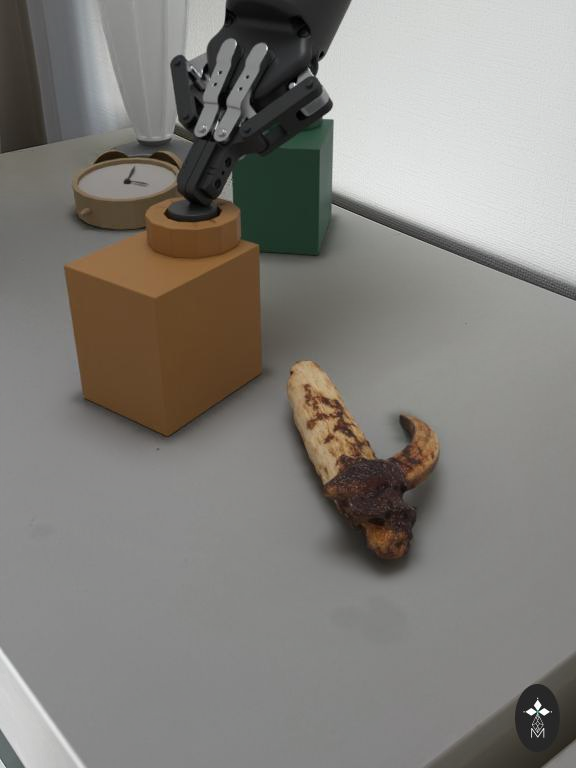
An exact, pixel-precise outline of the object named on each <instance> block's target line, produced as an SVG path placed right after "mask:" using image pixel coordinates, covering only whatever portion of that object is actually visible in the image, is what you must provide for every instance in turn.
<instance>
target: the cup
mask: <svg viewBox="0 0 576 768" xmlns="http://www.w3.org/2000/svg"><path fill="white" fill-rule="evenodd" d="M96 2H97V7H98V11H99V16H100V21H101V27H102V30H103V35H104V38H105V42H106V45H107V50H108V54H109V58H110V61H111V65H112V70H113V73H114V77H115V79H116V83H117V87H118V89H119V93H120V97H121V99H122V103H123V106H124V109H125V111H126V114H127V117H128V120H129V123H130V125H131V127H132V130H133V133H134V138H135V140H136V141H133V142H129V143H128V142H127V143H125V144H121V145H119V146H117V147H115V148H114V149H113V150H117V151H120V152H123V153H124V154H126V155H127V156H130V155H138V154H150V155H152V154H153V153H156V152H158V151H168V152H171V153H173V154H174V155H176V156H177V157H178V158H179V159H180V160H181V162H182V163H184V161H185V159H186V157H187V155H188V153H189V151H190V149H191V147H192V145H193V143H190V142H187V141H183V140H174V139H173V137H174V131H175V127H176V123H177V120H178V115H177V108H176V101H175V95H174V88H173V81H172V74H171V68H170V63H171V61H172V59H173V58H174V57H176V56H177V55H183V56H184V57H185V58H186V54H187V42H188V33H189V32H188V31H189V16H190V15H189V14H190V13H189V12H190V0H96Z"/></svg>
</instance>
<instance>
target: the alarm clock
mask: <svg viewBox="0 0 576 768" xmlns="http://www.w3.org/2000/svg"><path fill="white" fill-rule="evenodd" d="M182 165H183V163H182V162H181V160H180V159H179V158H178V157H177V156H176V155H174V154H173V153H171V152H168V151H158V152H156V153H153V154H152V155H150V154H138V155H130V156H127V155H126V154H124V153H123V152H120V151H117V150H114V149H109V150H105V151H103V152H101V153H100V154H98V155H96V157H95V159H94V160H93V163H92V164H91V165H89V166H87V167H85V168H83V169H82V170H80V171H78V172H77V173H76V174H75V175H74V176H73V178H72V181H71V187H72V191H73V196H74V202H75V203H74V204H75V212H76V214H77V216H78V217H79V219H80V220H82V221H83V222H85V223H86V224H88V225H91V226H94V227H98V228H102V229H108V230H109V229H110V230H136V229H142V228H146V221H145V214H146V212H147V211H148V210H149V208H150V207H151V206H153V205H155V204H158V203H160V202H162V201H165V200H168V199H172V198H179V197H183V196H182V195H181V194H180V193H179V192H178V190H177V184H178V183H177V175H178V173H179V171H180V169H181V168H182Z"/></svg>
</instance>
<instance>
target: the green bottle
mask: <svg viewBox="0 0 576 768" xmlns="http://www.w3.org/2000/svg"><path fill="white" fill-rule="evenodd" d="M334 122H335V120H334V119H333V118H324V116H323V117H321V118H320V119H318V120H317V121H316V122H314V123H313V124H311V125H310V126H308V127H307V128H306V129H304V130H303V131H301V132H300V133H299V134H297V135H296V136H294V137H293V138H291V139H290V140H289V141H287V142H286V143H284V144H283V145H281V146H280V147H279V148H277V149H276V150H274V151H273V152H272V153H270V154H269V155H267V156H265V157H259V156H257V154H256V153H254V154H247V155H246V156H245V157H244V158H243V159H241V160H239V161H237V162H236V164H235V166H234V168H233V170H232V172H231V183H232V184H231V185H232V203H234V204H235V205H236V206H237V207H238V208H239V209H240V218H241V238H240V239H241V240H245V241H248V242H252V243H255V244H258V245H259V253H260V252H263V253H275V254H276V253H277V254H293V255H309V256H319V254H320V251H321V248H322V245H323V242H324V240H325V237H326V233H327V231H328V228H329V225H330V222H331V220H332V209H333V208H332V207H333V206H332V205H333V165H334V164H333V163H334V129H335V128H334V125H335V124H334ZM277 125H279V123H277V124H275V125H273V126H272V127H270V128H269V129H267V130H266V131H265V132H264V133H263V134H264V135H265V134H266V133H268V132H269V131H270V130H272V129H273V128H275V127H276V126H277Z"/></svg>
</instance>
